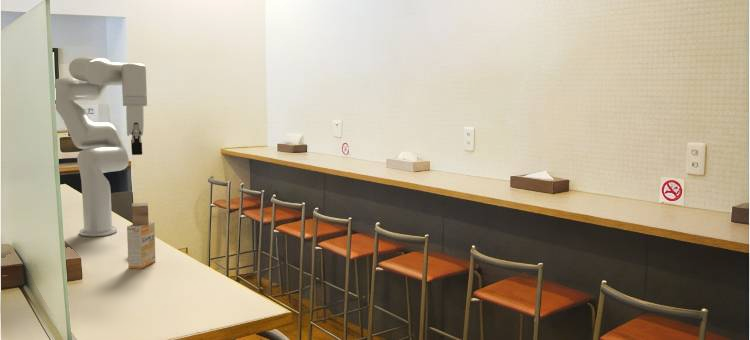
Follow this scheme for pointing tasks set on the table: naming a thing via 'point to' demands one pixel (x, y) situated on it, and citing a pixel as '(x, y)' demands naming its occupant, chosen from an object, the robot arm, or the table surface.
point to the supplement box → (141, 245)
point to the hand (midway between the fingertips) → (136, 152)
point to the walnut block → (140, 214)
